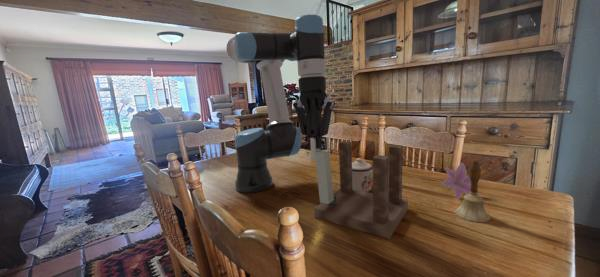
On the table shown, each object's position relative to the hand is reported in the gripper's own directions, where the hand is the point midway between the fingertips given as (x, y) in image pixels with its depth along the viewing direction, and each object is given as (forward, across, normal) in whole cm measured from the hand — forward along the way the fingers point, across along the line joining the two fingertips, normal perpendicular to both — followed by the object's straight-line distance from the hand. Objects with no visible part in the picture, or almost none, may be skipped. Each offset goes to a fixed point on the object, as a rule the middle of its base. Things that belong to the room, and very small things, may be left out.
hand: (315, 159), depth 74 cm
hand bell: (+18, +38, +21) cm, 47 cm away
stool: (+17, +11, +7) cm, 22 cm away
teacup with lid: (+18, +3, +26) cm, 31 cm away
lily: (+18, +34, +34) cm, 51 cm away
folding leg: (+13, +3, 0) cm, 13 cm away
